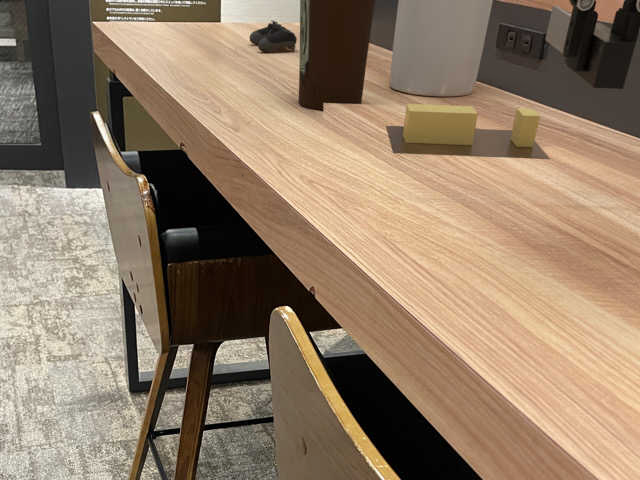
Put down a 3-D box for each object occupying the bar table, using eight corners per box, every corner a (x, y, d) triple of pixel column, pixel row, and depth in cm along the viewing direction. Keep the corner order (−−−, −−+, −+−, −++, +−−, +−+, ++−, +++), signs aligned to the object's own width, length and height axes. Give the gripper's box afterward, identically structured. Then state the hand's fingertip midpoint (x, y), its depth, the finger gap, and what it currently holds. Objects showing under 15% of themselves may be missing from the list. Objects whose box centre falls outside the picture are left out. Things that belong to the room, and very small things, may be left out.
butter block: (467, 137, 101) (473, 106, 99) (472, 145, 98) (478, 113, 96) (402, 135, 102) (406, 103, 100) (405, 142, 99) (409, 110, 97)
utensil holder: (487, 85, 137) (510, -43, 126) (467, 101, 126) (491, -37, 115) (401, 77, 141) (417, -47, 130) (375, 92, 131) (390, -42, 120)
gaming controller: (247, 41, 168) (253, 13, 165) (281, 51, 170) (288, 23, 167) (258, 51, 159) (264, 21, 156) (294, 61, 161) (301, 32, 158)
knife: (623, 89, 61) (636, 43, 59) (593, 88, 61) (605, 42, 59) (559, 40, 78) (567, 3, 76) (535, 39, 78) (543, 2, 76)
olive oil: (364, 98, 127) (384, -107, 111) (366, 113, 118) (388, -107, 103) (295, 95, 127) (306, -109, 112) (292, 110, 119) (304, -108, 103)
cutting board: (524, 143, 106) (526, 130, 105) (547, 172, 95) (550, 158, 94) (384, 137, 107) (385, 125, 106) (391, 166, 96) (393, 152, 95)
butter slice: (526, 139, 101) (533, 108, 99) (533, 147, 98) (540, 115, 96) (510, 139, 101) (516, 107, 99) (516, 147, 98) (523, 115, 96)
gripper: (776, -243, 56) (680, 65, 67) (538, -247, 57) (483, 58, 68) (829, -258, 50) (714, 82, 61) (562, -263, 51) (498, 74, 62)
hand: (593, 67), depth 65 cm, fingers closed on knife, 2 cm apart
